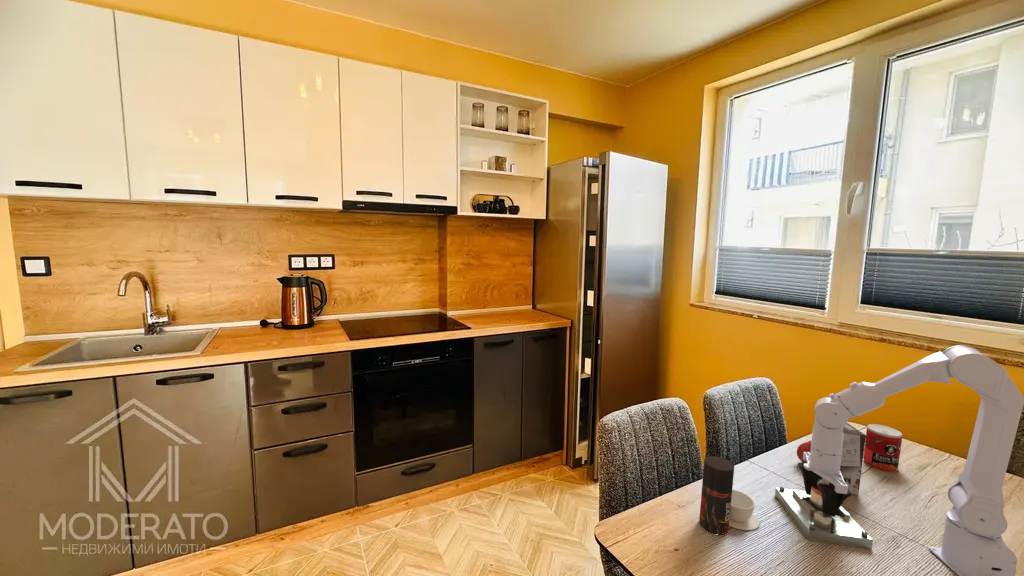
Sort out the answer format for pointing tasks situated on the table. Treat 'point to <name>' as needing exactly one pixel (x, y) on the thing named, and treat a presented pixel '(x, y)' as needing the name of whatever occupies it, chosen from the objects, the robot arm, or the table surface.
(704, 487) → the deodorant
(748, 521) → the teacup
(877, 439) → the canned food
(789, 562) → the table surface
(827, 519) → the mounting plate with knobs
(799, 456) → the onion
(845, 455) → the coffee box
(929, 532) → the table surface
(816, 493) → the spout can
